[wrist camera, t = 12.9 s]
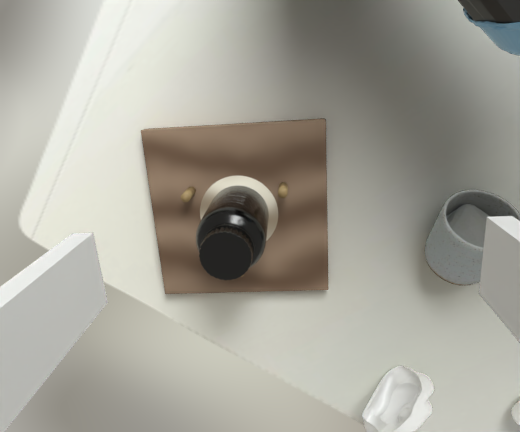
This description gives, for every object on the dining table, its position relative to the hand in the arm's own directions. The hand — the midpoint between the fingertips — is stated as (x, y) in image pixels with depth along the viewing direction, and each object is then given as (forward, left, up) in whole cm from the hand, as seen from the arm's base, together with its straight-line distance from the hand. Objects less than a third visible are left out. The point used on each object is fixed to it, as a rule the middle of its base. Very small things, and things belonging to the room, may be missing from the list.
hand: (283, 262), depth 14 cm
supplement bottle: (+9, -6, -33) cm, 35 cm away
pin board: (+9, -6, -34) cm, 36 cm away
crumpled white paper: (+34, +12, -35) cm, 50 cm away
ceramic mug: (+12, +20, -35) cm, 42 cm away
